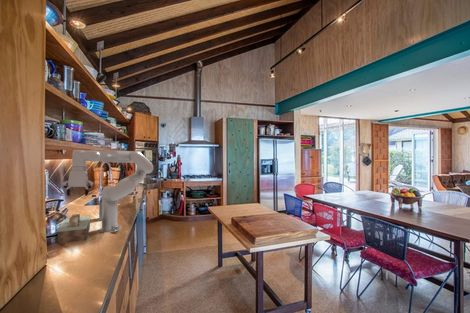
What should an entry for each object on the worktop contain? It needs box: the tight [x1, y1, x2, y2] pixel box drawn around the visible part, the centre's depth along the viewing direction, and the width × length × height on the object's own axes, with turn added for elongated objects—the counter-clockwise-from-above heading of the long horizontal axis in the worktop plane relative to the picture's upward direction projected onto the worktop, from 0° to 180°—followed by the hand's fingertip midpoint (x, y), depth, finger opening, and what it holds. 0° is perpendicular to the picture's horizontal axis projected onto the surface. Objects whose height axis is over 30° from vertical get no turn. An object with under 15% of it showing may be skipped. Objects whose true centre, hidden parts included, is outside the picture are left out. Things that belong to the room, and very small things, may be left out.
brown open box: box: [57, 219, 91, 245], centre depth 150 cm, size 14×26×8 cm, turn 28°
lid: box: [57, 213, 91, 233], centre depth 150 cm, size 14×26×6 cm, turn 28°
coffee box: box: [98, 198, 102, 221], centre depth 192 cm, size 9×6×16 cm
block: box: [68, 216, 78, 227], centre depth 143 cm, size 4×4×14 cm
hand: (77, 195), depth 150 cm, fingers open, 9 cm apart
